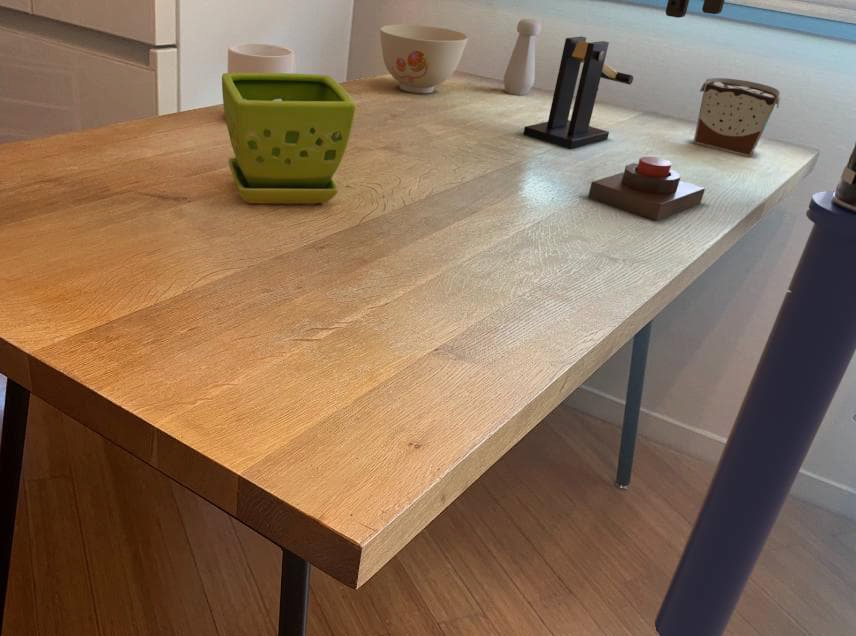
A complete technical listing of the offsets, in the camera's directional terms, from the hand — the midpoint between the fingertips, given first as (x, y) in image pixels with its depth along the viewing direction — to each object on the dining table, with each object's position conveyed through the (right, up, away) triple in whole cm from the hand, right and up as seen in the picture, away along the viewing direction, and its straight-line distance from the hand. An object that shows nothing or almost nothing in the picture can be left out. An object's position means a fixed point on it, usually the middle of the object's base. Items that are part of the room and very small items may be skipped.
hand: (693, 14), depth 103 cm
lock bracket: (-5, -3, +37) cm, 37 cm away
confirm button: (-1, -17, +10) cm, 19 cm away
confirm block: (-2, -20, +12) cm, 23 cm away
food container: (+23, -4, +40) cm, 46 cm away
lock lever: (0, +7, +35) cm, 35 cm away
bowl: (-26, +12, +59) cm, 66 cm away
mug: (-54, -2, +33) cm, 63 cm away
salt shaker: (-7, +13, +63) cm, 65 cm away
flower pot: (-50, -20, +4) cm, 54 cm away
